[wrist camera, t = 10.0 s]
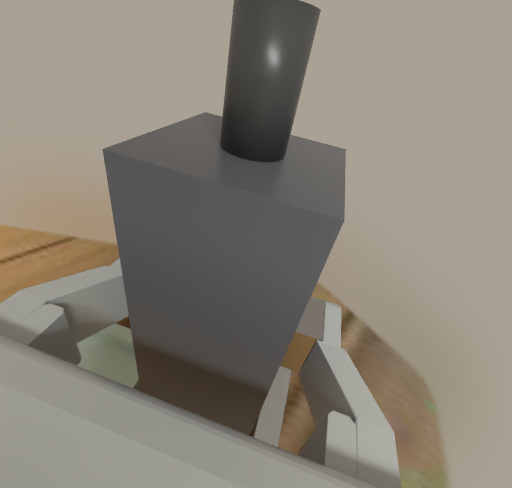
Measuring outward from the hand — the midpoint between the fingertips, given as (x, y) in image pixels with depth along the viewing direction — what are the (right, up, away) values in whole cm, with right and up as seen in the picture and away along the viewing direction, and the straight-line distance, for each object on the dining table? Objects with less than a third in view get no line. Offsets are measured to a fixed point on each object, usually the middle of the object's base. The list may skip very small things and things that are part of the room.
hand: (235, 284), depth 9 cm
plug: (-1, -5, +3) cm, 6 cm away
